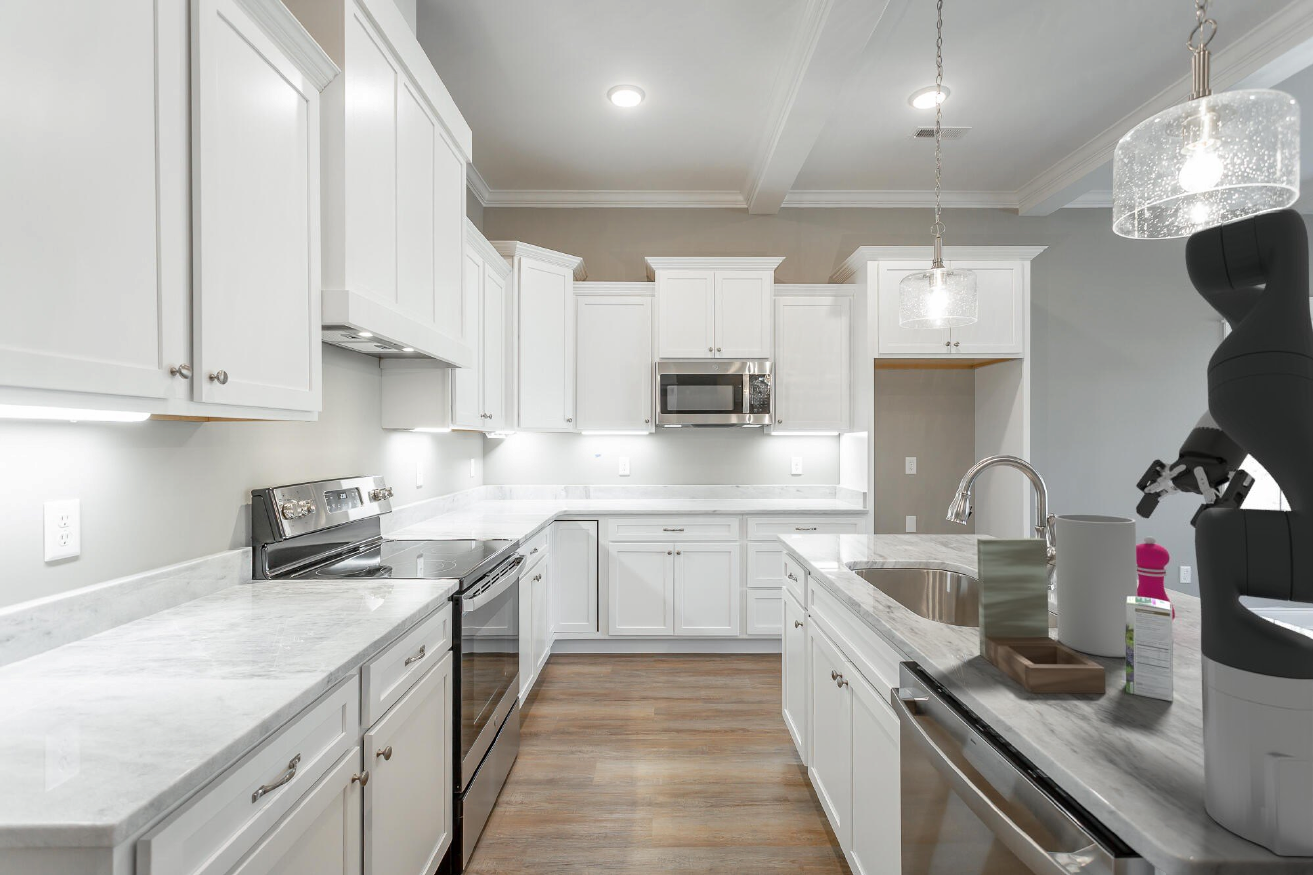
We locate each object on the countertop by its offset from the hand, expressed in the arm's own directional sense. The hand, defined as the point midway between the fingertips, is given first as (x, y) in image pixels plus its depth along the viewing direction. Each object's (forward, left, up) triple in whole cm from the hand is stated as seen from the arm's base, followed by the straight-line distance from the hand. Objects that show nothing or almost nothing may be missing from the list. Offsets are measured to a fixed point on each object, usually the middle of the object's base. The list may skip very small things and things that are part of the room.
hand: (1167, 521), depth 93 cm
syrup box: (-1, +4, -27) cm, 28 cm away
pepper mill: (+28, -18, -27) cm, 43 cm away
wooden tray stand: (+7, +17, -27) cm, 33 cm away
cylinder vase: (+20, -1, -27) cm, 34 cm away
